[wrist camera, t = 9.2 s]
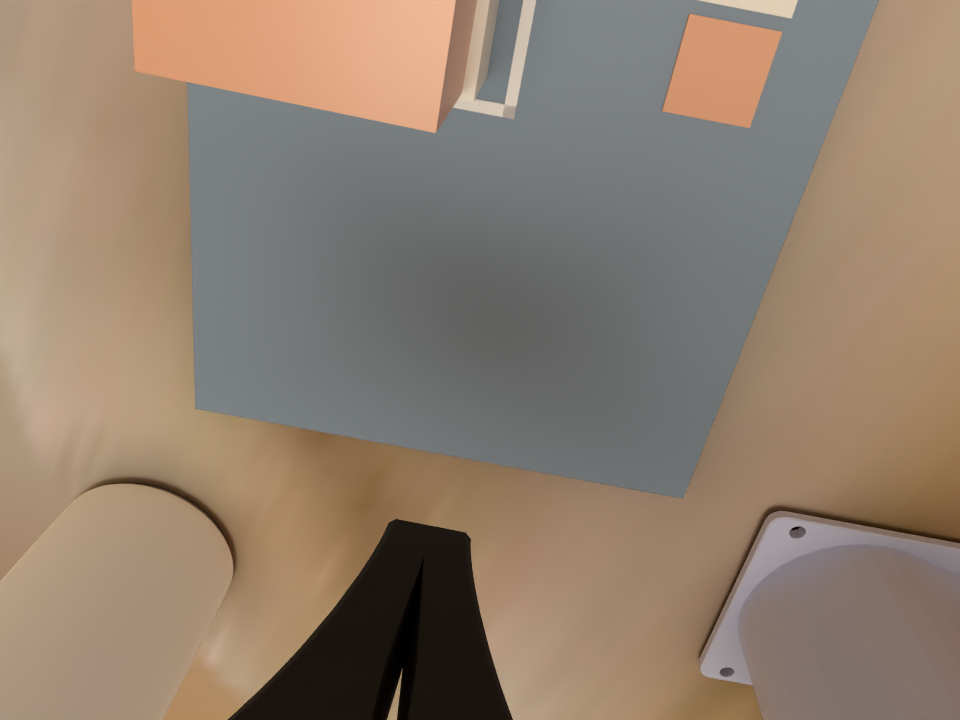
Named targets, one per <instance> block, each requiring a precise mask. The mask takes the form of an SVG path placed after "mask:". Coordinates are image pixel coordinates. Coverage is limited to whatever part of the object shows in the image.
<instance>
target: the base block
mask: <svg viewBox="0 0 960 720" xmlns="http://www.w3.org/2000/svg"><path fill="white" fill-rule="evenodd" d="M499 1H500V0H477V4H476V10H475V17H474V23H473V29H472V35H471V41H470V47H469V53H468V59H467V65H466V71H465V78H464V84H463V90H462V94H461V95H460V97H459V99H458V100H462V101H467V102H472V103H474V101H475V99H476V97H477V95H478V93H479V91H480V89H481V87H482V85H483V83H484V82H485V80H486V78H487V73H488V67H489V61H490V55H491V49H492V43H493V37H494V31H495V25H496V19H497V13H498V7H499Z"/></svg>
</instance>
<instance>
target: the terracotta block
mask: <svg viewBox="0 0 960 720" xmlns="http://www.w3.org/2000/svg"><path fill="white" fill-rule="evenodd" d="M476 4H477V0H132V16H133V39H134V61H135V71H137V72H141V73H146V74H151V75H156V76H161V77H166V78H171V79H175V80H180V81H185V82H190V83H195V84H200V85H205V86H209V87H214V88H219V89H224V90H229V91H234V92H239V93H243V94H248V95H253V96H258V97H263V98H268V99H273V100H277V101H282V102H287V103H292V104H297V105H302V106H307V107H312V108H316V109H321V110H326V111H331V112H336V113H341V114H346V115H350V116H355V117H360V118H365V119H370V120H375V121H380V122H384V123H389V124H394V125H399V126H404V127H409V128H414V129H418V130H423V131H428V132H433V133H436V132H437V131H438V129H439V128H440V126H441V124H442V123H443V121H444V120H445V118H446V117H447V115H448V114H449V112H450V111H451V109H452V108H453V106H454V105H455V103H456V102H457V100H458V99H459V97H460V95H461V94H462V90H463V84H464V78H465V71H466V65H467V59H468V53H469V47H470V41H471V35H472V29H473V23H474V17H475V10H476Z"/></svg>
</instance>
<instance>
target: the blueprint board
mask: <svg viewBox="0 0 960 720" xmlns="http://www.w3.org/2000/svg"><path fill="white" fill-rule="evenodd" d="M878 2H879V0H500V1H499V7H498V13H497V19H496V25H495V31H494V37H493V43H492V49H491V55H490V61H489V67H488V73H487V78H486V80H485V82H484V83H483V85H482V87H481V89H480V91H479V93H478V95H477V97H476V99H475V101H474V103H472V102H467V101H462V100H457V102H456V103H455V105H454V106H453V108H452V109H451V111H450V112H449V114H448V115H447V117H446V118H445V120H444V121H443V123H442V124H441V126H440V128H439V129H438V131H437V132H436V133H433V132H428V131H423V130H418V129H414V128H409V127H404V126H399V125H394V124H389V123H384V122H380V121H375V120H370V119H365V118H360V117H355V116H350V115H346V114H341V113H336V112H331V111H326V110H321V109H316V108H312V107H307V106H302V105H297V104H292V103H287V102H282V101H277V100H273V99H268V98H263V97H258V96H253V95H248V94H243V93H239V92H234V91H229V90H224V89H219V88H214V87H209V86H205V85H200V84H195V83H190V82H187V84H188V126H189V167H190V209H191V251H192V292H193V334H194V375H195V409H200V410H205V411H211V412H216V413H222V414H227V415H232V416H238V417H243V418H249V419H254V420H260V421H265V422H270V423H276V424H281V425H287V426H292V427H297V428H303V429H308V430H314V431H319V432H325V433H330V434H335V435H341V436H346V437H352V438H357V439H362V440H368V441H373V442H379V443H384V444H390V445H395V446H400V447H406V448H411V449H417V450H422V451H427V452H433V453H438V454H444V455H449V456H454V457H460V458H465V459H471V460H476V461H482V462H487V463H492V464H498V465H503V466H509V467H514V468H519V469H525V470H530V471H536V472H541V473H547V474H552V475H557V476H563V477H568V478H574V479H579V480H584V481H590V482H595V483H601V484H606V485H612V486H617V487H622V488H628V489H633V490H639V491H644V492H649V493H655V494H660V495H666V496H671V497H677V498H682V499H683V498H684V495H685V493H686V490H687V487H688V485H689V482H690V480H691V477H692V475H693V472H694V470H695V467H696V465H697V462H698V460H699V457H700V454H701V452H702V449H703V447H704V444H705V442H706V439H707V437H708V434H709V432H710V429H711V426H712V424H713V421H714V419H715V416H716V414H717V411H718V409H719V406H720V404H721V401H722V398H723V396H724V393H725V391H726V388H727V386H728V383H729V381H730V378H731V376H732V373H733V370H734V368H735V365H736V363H737V360H738V358H739V355H740V353H741V350H742V348H743V345H744V343H745V340H746V337H747V335H748V332H749V330H750V327H751V325H752V322H753V320H754V317H755V315H756V312H757V309H758V307H759V304H760V302H761V299H762V297H763V294H764V292H765V289H766V287H767V284H768V281H769V279H770V276H771V274H772V271H773V269H774V266H775V264H776V261H777V259H778V256H779V253H780V251H781V248H782V246H783V243H784V241H785V238H786V236H787V233H788V231H789V228H790V226H791V223H792V220H793V218H794V215H795V213H796V210H797V208H798V205H799V203H800V200H801V198H802V195H803V192H804V190H805V187H806V185H807V182H808V180H809V177H810V175H811V172H812V170H813V167H814V164H815V162H816V159H817V157H818V154H819V152H820V149H821V147H822V144H823V142H824V139H825V136H826V134H827V131H828V129H829V126H830V124H831V121H832V119H833V116H834V114H835V111H836V108H837V106H838V103H839V101H840V98H841V96H842V93H843V91H844V88H845V86H846V83H847V81H848V78H849V75H850V73H851V70H852V68H853V65H854V63H855V60H856V58H857V55H858V53H859V50H860V47H861V45H862V42H863V40H864V37H865V35H866V32H867V30H868V27H869V25H870V22H871V19H872V17H873V14H874V12H875V9H876V7H877V4H878Z"/></svg>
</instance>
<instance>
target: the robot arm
mask: <svg viewBox="0 0 960 720" xmlns="http://www.w3.org/2000/svg"><path fill="white" fill-rule="evenodd" d="M796 526H801V527H800V528H799V529H797V530H791V529H792V528H794V527H796ZM470 543H471V539H470V538H469V536H468V535H467V534H466V533H465V532H460V531H455V530H450V529H444V528H439V527H434V526H429V525H424V524H419V523H414V522H408V521H403V520H398V519H395V520H393V521H391V522H390V523H388V526H387V528H386V530H385V532H384V534H383V536H382V538H381V540H380V542H379V544H378V545H377V547H376V549H375V550H374V552H373V554H372V555H371V557H370V558H369V560H368V561H367V563H366V565H365V566H364V568H363V569H362V571H361V572H360V574H359V575H358V576H357V578H356V579H355V580H354V582H353V583H352V584H351V586H350V587H349V589H348V590H347V591H346V593H345V594H344V595H343V597H342V598H341V599H340V601H339V602H338V603H337V605H336V606H335V607H334V609H333V610H332V611H331V612H330V614H329V615H328V616H327V617H326V618H325V619H324V621H323V622H322V623H321V624H320V625H319V627H318V628H317V629H316V630H315V631H314V632H313V634H312V635H311V636H310V637H309V638H308V640H307V641H306V642H305V643H304V644H303V645H302V646H301V648H300V649H299V650H298V651H297V652H296V653H295V654H294V655H293V656H292V657H291V658H290V660H289V661H288V662H287V663H286V664H285V665H284V666H283V667H282V668H281V669H280V670H279V671H278V672H277V673H276V674H275V675H274V676H273V677H272V678H271V679H270V680H269V681H268V682H267V683H266V684H265V685H264V686H263V687H262V688H261V689H260V690H259V691H258V692H257V693H256V694H255V695H254V696H253V697H252V698H251V699H250V700H248V701H247V702H246V703H245V704H244V705H243V706H242V707H241V708H240V709H239V710H238V711H237V712H236V713H234V714H233V715H232V716H231V717H230V718H229V719H228V720H387V718H388V714H389V711H390V708H391V704H392V701H393V698H394V694H395V691H396V688H397V684H398V681H399V678H400V675H401V671H402V679H401V688H400V697H399V706H398V715H397V720H513V719H512V716H511V714H510V711H509V708H508V705H507V703H506V700H505V697H504V694H503V691H502V688H501V685H500V682H499V679H498V676H497V673H496V670H495V666H494V663H493V660H492V656H491V653H490V649H489V646H488V642H487V638H486V634H485V630H484V626H483V622H482V618H481V614H480V610H479V605H478V600H477V595H476V590H475V584H474V578H473V571H472V562H471V548H470ZM725 667H727V668H725ZM402 668H403V670H402ZM699 668H700V671H701V673H702V674H703V675H704V676H707V677H710V678H715V679H720V680H726V681H732V682H737V683H743V684H748V685H753V688H754V692H755V695H756V699H757V702H758V705H759V709H760V712H761V715H762V719H763V720H960V543H955V542H950V541H944V540H939V539H934V538H928V537H923V536H917V535H912V534H906V533H901V532H896V531H890V530H885V529H879V528H874V527H869V526H863V525H858V524H852V523H847V522H842V521H836V520H831V519H825V518H820V517H814V516H809V515H804V514H798V513H793V512H787V511H777V512H773V513H772V514H770V515H768V517H767V518H766V519H765V521H764V523H763V525H762V527H761V529H760V531H759V534H758V536H757V538H756V540H755V542H754V544H753V546H752V548H751V551H750V553H749V555H748V557H747V559H746V561H745V563H744V565H743V568H742V570H741V572H740V574H739V576H738V578H737V580H736V582H735V584H734V587H733V589H732V591H731V593H730V595H729V597H728V599H727V601H726V604H725V606H724V608H723V610H722V612H721V614H720V616H719V618H718V620H717V623H716V625H715V627H714V629H713V631H712V633H711V635H710V637H709V640H708V642H707V644H706V646H705V648H704V650H703V652H702V654H701V656H700V659H699Z"/></svg>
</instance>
